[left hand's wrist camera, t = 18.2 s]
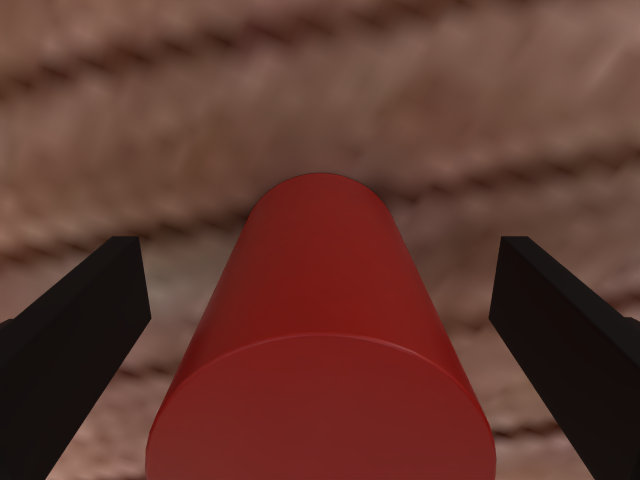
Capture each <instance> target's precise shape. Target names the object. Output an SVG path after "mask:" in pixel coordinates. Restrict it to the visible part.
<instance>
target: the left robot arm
mask: <svg viewBox="0 0 640 480" xmlns="http://www.w3.org/2000/svg"><path fill="white" fill-rule="evenodd" d="M150 320H151V312H150V306H149V300H148V293H147V287H146V280H145V274H144V267H143V261H142V255H141V248H140V242H139V236H112V237H111V238H110V239H109V240H108V241H106V242H105V243H104V244H103V245H102V246H100V247H99V248H98V249H97V250H96V251H94V252H93V253H92V254H91V255H90V256H88V257H87V258H86V259H85V260H84V261H82V262H81V263H80V264H79V265H78V266H76V267H75V268H74V269H73V270H72V271H70V272H69V273H68V274H67V275H66V276H64V277H63V278H62V279H61V280H60V281H59V282H57V283H56V284H55V285H54V286H53V287H51V288H50V289H49V290H48V291H47V292H45V293H44V294H43V295H42V296H41V297H39V298H38V299H37V300H36V301H35V302H33V303H32V304H31V305H30V306H29V307H27V308H26V309H25V310H24V311H23V312H21V313H20V314H19V315H18V316H17V317H15V318H14V319H8V320H6V321H4V322H2V323H0V480H45V479H46V478H47V476H48V475H49V473H50V472H51V470H52V469H53V467H54V465H55V464H56V462H57V461H58V459H59V458H60V456H61V455H62V453H63V452H64V450H65V449H66V447H67V446H68V444H69V443H70V441H71V440H72V438H73V437H74V435H75V434H76V432H77V431H78V429H79V428H80V426H81V425H82V423H83V422H84V420H85V418H86V417H87V415H88V414H89V412H90V411H91V409H92V408H93V406H94V405H95V403H96V402H97V400H98V399H99V397H100V396H101V394H102V393H103V391H104V390H105V388H106V387H107V385H108V384H109V382H110V381H111V379H112V378H113V376H114V375H115V373H116V371H117V370H118V368H119V367H120V365H121V364H122V362H123V361H124V359H125V358H126V356H127V355H128V353H129V352H130V350H131V349H132V347H133V346H134V344H135V343H136V341H137V340H138V338H139V337H140V335H141V334H142V332H143V331H144V329H145V327H146V326H147V324H148V323H149V321H150ZM489 320H490V321H491V323H492V324H493V326H494V327H495V329H496V331H497V332H498V334H499V335H500V337H501V338H502V340H503V341H504V343H505V344H506V346H507V347H508V349H509V350H510V352H511V353H512V355H513V356H514V358H515V359H516V361H517V362H518V364H519V365H520V367H521V368H522V370H523V371H524V373H525V374H526V376H527V378H528V379H529V381H530V382H531V384H532V385H533V387H534V388H535V390H536V391H537V393H538V394H539V396H540V397H541V399H542V400H543V402H544V403H545V405H546V406H547V408H548V409H549V411H550V412H551V414H552V415H553V417H554V418H555V420H556V421H557V423H558V425H559V426H560V428H561V429H562V431H563V432H564V434H565V435H566V437H567V438H568V440H569V441H570V443H571V444H572V446H573V447H574V449H575V450H576V452H577V453H578V455H579V456H580V458H581V459H582V461H583V462H584V464H585V465H586V467H587V469H588V470H589V472H590V473H591V475H592V476H593V478H594V479H595V480H640V322H639V321H637V320H635V319H633V318H631V317H623V316H622V315H621V314H620V313H619V312H617V311H616V310H615V309H614V308H613V307H611V306H610V305H609V304H608V303H607V302H605V301H604V300H603V299H602V298H601V297H599V296H598V295H597V294H596V293H595V292H593V291H592V290H591V289H590V288H589V287H587V286H586V285H585V284H584V283H583V282H581V281H580V280H579V279H578V278H577V277H576V276H574V275H573V274H572V273H571V272H570V271H568V270H567V269H566V268H565V267H564V266H562V265H561V264H560V263H559V262H558V261H556V260H555V259H554V258H553V257H552V256H550V255H549V254H548V253H547V252H546V251H544V250H543V249H542V248H541V247H540V246H538V245H537V244H536V243H535V242H534V241H532V240H531V239H530V238H529V237H528V236H501V242H500V248H499V255H498V261H497V267H496V274H495V280H494V287H493V293H492V300H491V306H490V312H489Z"/></svg>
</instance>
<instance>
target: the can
mask: <svg viewBox="0 0 640 480" xmlns="http://www.w3.org/2000/svg"><path fill="white" fill-rule="evenodd" d="M145 470H146V477H147V480H495V473H496V451H495V442H494V439H493V435H492V432H491V429H490V425H489V423H488V421H487V418H486V416H485V414H484V412H483V410H482V408H481V406H480V404H479V401H478V399H477V397H476V395H475V393H474V391H473V389H472V386H471V384H470V382H469V380H468V378H467V376H466V374H465V371H464V369H463V367H462V365H461V363H460V361H459V359H458V356H457V354H456V352H455V350H454V348H453V346H452V344H451V341H450V339H449V337H448V335H447V333H446V331H445V329H444V327H443V324H442V322H441V320H440V318H439V316H438V314H437V312H436V309H435V307H434V305H433V303H432V301H431V299H430V297H429V294H428V292H427V290H426V288H425V286H424V284H423V282H422V279H421V277H420V275H419V273H418V271H417V269H416V267H415V265H414V262H413V260H412V258H411V256H410V254H409V252H408V250H407V247H406V245H405V243H404V241H403V239H402V237H401V235H400V232H399V230H398V228H397V226H396V224H395V222H394V220H393V218H392V216H391V214H390V212H389V210H388V208H387V207H386V206H385V204H384V203H383V202H382V200H381V199H380V198H379V197H378V196H377V195H376V194H375V193H373V192H372V191H371V190H370V189H369V188H367V187H365V186H364V185H362V184H361V183H359V182H357V181H354V180H352V179H350V178H347V177H343V176H340V175H335V174H328V173H314V174H306V175H301V176H297V177H294V178H291V179H288V180H286V181H284V182H282V183H280V184H278V185H277V186H275V187H274V188H272V189H271V190H270V191H268V192H267V193H266V194H265V195H264V196H263V197H262V198H261V199H260V200H259V201H258V203H257V204H256V205H255V206H254V208H253V210H252V211H251V213H250V215H249V217H248V219H247V221H246V223H245V225H244V228H243V230H242V232H241V234H240V236H239V238H238V241H237V243H236V245H235V247H234V249H233V251H232V253H231V256H230V258H229V260H228V262H227V264H226V266H225V269H224V271H223V273H222V275H221V277H220V279H219V281H218V284H217V286H216V288H215V290H214V292H213V294H212V297H211V299H210V301H209V303H208V305H207V307H206V309H205V312H204V314H203V316H202V318H201V320H200V322H199V325H198V327H197V329H196V331H195V333H194V335H193V338H192V340H191V342H190V344H189V346H188V348H187V350H186V353H185V355H184V357H183V359H182V361H181V363H180V366H179V368H178V370H177V372H176V374H175V376H174V378H173V381H172V383H171V385H170V387H169V389H168V391H167V394H166V396H165V398H164V400H163V402H162V404H161V406H160V409H159V411H158V413H157V415H156V418H155V420H154V422H153V425H152V427H151V430H150V433H149V437H148V442H147V446H146V458H145Z"/></svg>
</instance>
